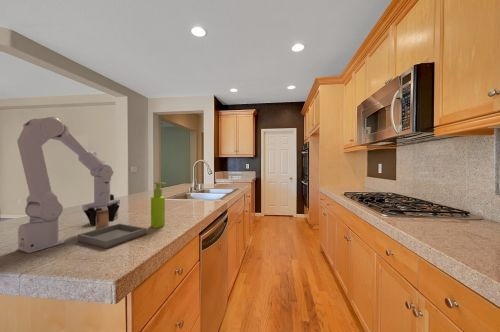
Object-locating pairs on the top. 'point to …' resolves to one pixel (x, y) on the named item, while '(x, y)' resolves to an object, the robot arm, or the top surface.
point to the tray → (112, 235)
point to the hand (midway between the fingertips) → (102, 223)
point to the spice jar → (102, 219)
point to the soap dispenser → (158, 207)
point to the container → (107, 208)
